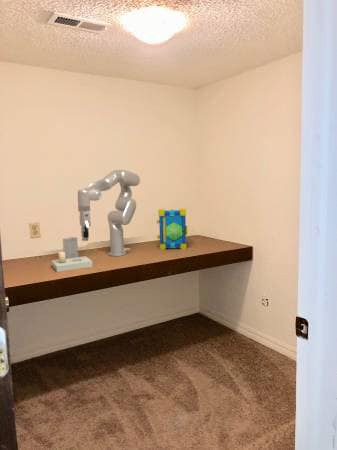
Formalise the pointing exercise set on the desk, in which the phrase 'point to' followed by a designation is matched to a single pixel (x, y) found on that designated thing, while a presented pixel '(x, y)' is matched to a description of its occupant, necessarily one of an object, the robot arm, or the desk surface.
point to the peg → (83, 235)
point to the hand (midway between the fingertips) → (85, 236)
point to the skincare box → (70, 247)
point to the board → (70, 263)
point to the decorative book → (172, 228)
